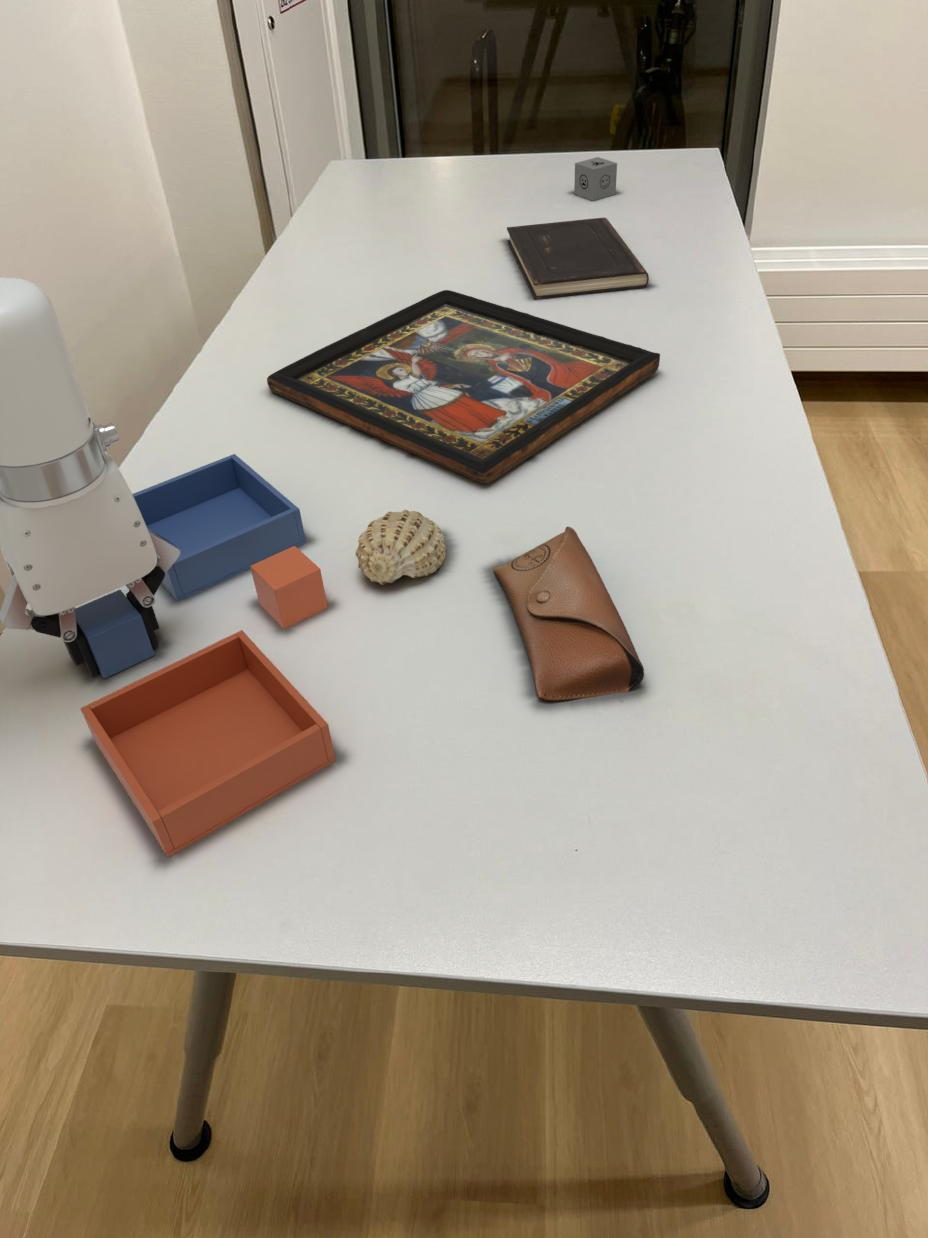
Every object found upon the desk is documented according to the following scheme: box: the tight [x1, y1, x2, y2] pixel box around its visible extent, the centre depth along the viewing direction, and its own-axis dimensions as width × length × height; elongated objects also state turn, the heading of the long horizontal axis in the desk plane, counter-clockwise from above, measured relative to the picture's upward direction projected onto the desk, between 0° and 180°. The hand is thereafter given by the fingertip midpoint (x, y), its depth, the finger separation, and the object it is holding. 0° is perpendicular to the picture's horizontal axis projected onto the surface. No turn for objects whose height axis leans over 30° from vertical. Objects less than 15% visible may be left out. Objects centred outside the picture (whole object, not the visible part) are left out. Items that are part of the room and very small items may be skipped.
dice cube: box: [573, 156, 618, 202], centre depth 162 cm, size 5×5×5 cm
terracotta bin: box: [80, 629, 337, 858], centre depth 69 cm, size 13×13×4 cm
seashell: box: [355, 509, 447, 586], centre depth 86 cm, size 8×6×10 cm
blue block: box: [75, 589, 156, 679], centre depth 78 cm, size 4×4×4 cm
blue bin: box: [132, 453, 307, 602], centre depth 90 cm, size 13×13×4 cm
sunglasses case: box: [492, 526, 645, 702], centre depth 78 cm, size 18×7×7 cm
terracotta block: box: [250, 546, 329, 630], centre depth 82 cm, size 4×4×4 cm
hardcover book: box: [506, 217, 650, 300], centre depth 139 cm, size 16×23×2 cm
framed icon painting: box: [266, 289, 661, 485], centre depth 112 cm, size 38×35×3 cm
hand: (118, 650), depth 79 cm, fingers closed on blue block, 4 cm apart
